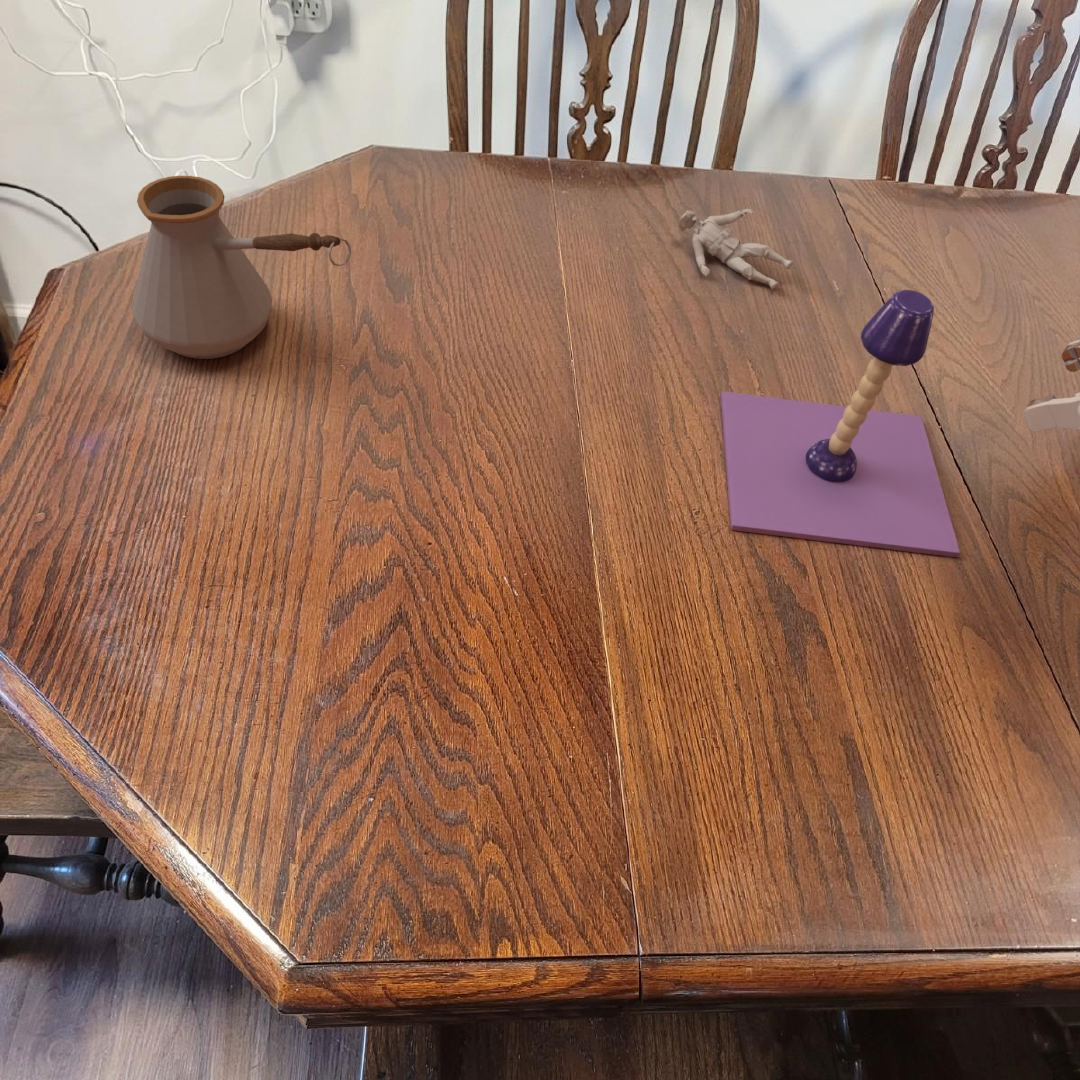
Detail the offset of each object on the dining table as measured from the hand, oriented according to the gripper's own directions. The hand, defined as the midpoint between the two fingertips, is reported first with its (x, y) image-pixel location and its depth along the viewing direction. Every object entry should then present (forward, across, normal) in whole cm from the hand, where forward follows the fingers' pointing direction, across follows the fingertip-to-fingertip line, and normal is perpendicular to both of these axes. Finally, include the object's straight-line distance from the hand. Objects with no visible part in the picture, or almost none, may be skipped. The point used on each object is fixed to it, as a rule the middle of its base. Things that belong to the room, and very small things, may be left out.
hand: (1048, 386), depth 66 cm
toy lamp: (+17, +3, +1) cm, 17 cm away
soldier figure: (+32, -18, -15) cm, 39 cm away
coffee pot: (+48, +25, -31) cm, 63 cm away
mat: (+17, +2, +2) cm, 18 cm away
